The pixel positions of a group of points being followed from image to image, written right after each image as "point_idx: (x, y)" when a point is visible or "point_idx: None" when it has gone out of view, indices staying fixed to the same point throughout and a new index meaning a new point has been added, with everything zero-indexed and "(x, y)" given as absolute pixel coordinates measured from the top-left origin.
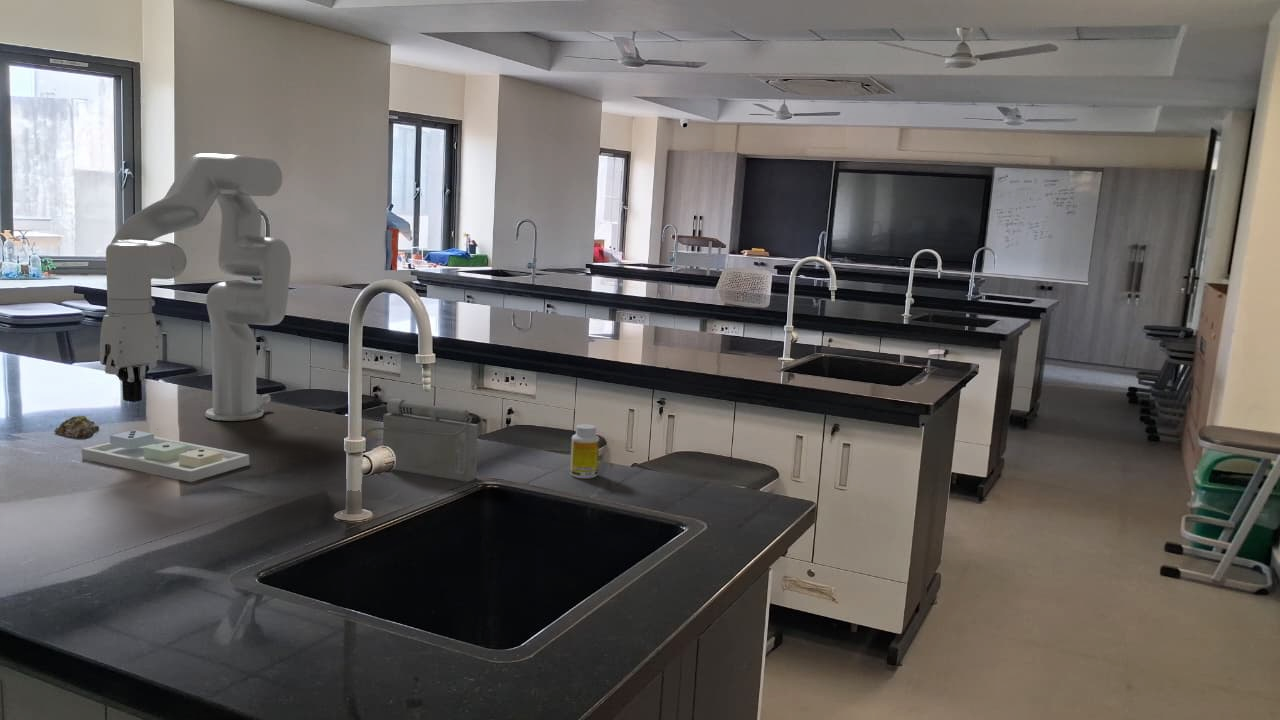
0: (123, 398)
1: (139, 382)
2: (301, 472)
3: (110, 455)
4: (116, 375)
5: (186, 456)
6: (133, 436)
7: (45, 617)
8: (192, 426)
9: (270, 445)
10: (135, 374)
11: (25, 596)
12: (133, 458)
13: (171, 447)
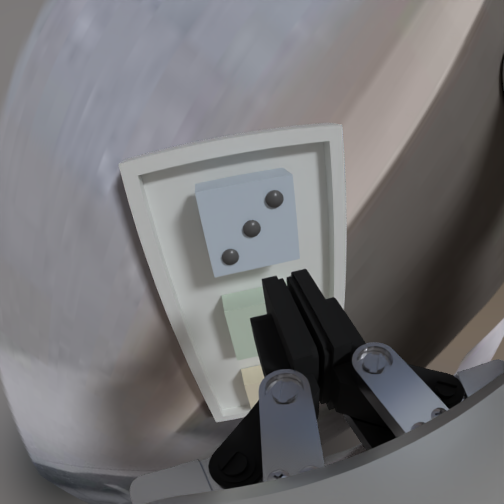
0: (264, 281)
1: (327, 404)
2: (334, 419)
3: (151, 272)
4: (227, 438)
5: (247, 395)
6: (236, 261)
7: (51, 477)
8: (469, 80)
9: (431, 304)
10: (362, 407)
11: (40, 466)
12: (179, 330)
13: None
